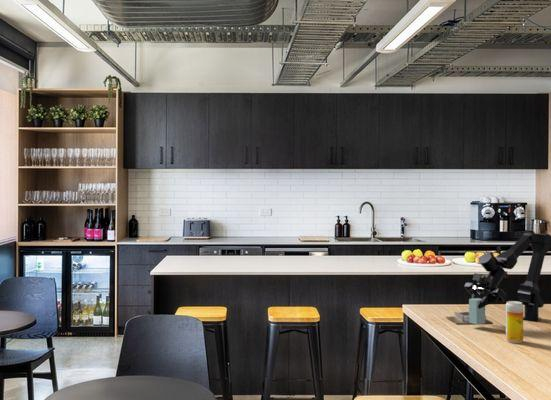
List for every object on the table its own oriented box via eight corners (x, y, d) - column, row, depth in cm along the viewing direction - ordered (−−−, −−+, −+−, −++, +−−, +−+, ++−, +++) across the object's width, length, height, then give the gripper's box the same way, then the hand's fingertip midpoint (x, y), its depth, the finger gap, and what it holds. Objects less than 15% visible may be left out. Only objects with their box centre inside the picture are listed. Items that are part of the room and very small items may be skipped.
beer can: (525, 344, 198) (525, 304, 197) (507, 343, 199) (507, 303, 199) (520, 339, 203) (520, 301, 203) (504, 339, 205) (504, 300, 205)
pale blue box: (479, 320, 225) (479, 297, 225) (487, 322, 222) (487, 299, 221) (469, 322, 223) (469, 298, 222) (476, 324, 219) (476, 300, 219)
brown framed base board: (479, 317, 241) (479, 310, 241) (492, 323, 229) (492, 316, 229) (445, 318, 239) (445, 311, 239) (457, 324, 227) (457, 317, 227)
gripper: (467, 263, 232) (448, 291, 227) (501, 269, 215) (482, 298, 210) (480, 280, 235) (461, 307, 230) (515, 286, 218) (496, 316, 214)
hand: (474, 307), depth 221 cm, fingers closed on pale blue box, 4 cm apart
